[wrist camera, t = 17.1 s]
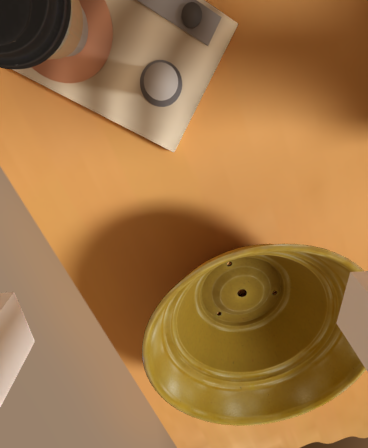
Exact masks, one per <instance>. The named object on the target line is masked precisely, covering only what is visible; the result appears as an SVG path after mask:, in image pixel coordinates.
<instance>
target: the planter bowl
mask: <svg viewBox="0 0 368 448" xmlns="http://www.w3.org/2000/svg"><path fill="white" fill-rule="evenodd" d="M228 262H231V263H232V265H231V266H227V263H228ZM361 271H364V270H363V269H362V268H361V267H359V266H358V265H357V264H355V263H354V262H352V261H351V260H349V259H348V258H346V257H344V256H342V255H339V254H337V253H335V252H332V251H329V250H326V249H323V248H318V247H314V246H308V245H299V244H262V245H253V246H246V247H242V248H237V249H234V250H231V251H228V252H225V253H223V254H220V255H218V256H216V257H214V258H212V259H210V260H208V261H206V262H205V263H203V264H201V265H200V266H198V267H197V268H196V269H194V270H193V271H192V272H191V273H189V274H188V275H187V276H186V277H185V278H184V279H182V280H181V281H180V282H179V283H177V284H176V285H175V286H174V287H173V288H172V289H171V290H170V291H169V292H168V293H167V294H166V296H165V297H164V298H163V299H162V300H161V302H160V303H159V304H158V306H157V307H156V309H155V310H154V312H153V314H152V315H151V318H150V320H149V322H148V324H147V327H146V330H145V333H144V338H143V344H142V359H143V364H144V369H145V372H146V375H147V377H148V379H149V381H150V383H151V384H152V386H153V387H154V389H155V390H156V391H157V393H158V394H159V395H160V396H161V397H162V398H163V399H164V400H165V401H166V402H167V403H169V404H170V405H171V406H173V407H174V408H176V409H178V410H179V411H181V412H183V413H185V414H187V415H190V416H192V417H194V418H198V419H201V420H204V421H207V422H212V423H217V424H224V425H237V426H245V425H260V424H268V423H273V422H278V421H282V420H286V419H290V418H293V417H296V416H299V415H302V414H304V413H307V412H309V411H311V410H314V409H316V408H318V407H320V406H322V405H324V404H325V403H327V402H329V401H331V400H332V399H334V398H335V397H337V396H338V395H340V394H341V393H342V392H344V391H345V390H346V389H347V388H349V387H350V386H351V385H352V384H353V383H354V382H355V381H356V380H357V379H358V378H359V377H360V376H361V375H362V374H363V373H364V371H365V370H366V368H365V367H364V365H363V364H362V362H361V361H360V359H359V357H358V356H357V354H356V353H355V351H354V350H353V348H352V347H351V345H350V344H349V342H348V340H347V339H346V337H345V336H344V334H343V333H342V331H341V330H340V328H339V327H338V325H337V319H338V315H339V312H340V308H341V304H342V300H343V297H344V293H345V289H346V286H347V282H348V278H349V275H350V272H361ZM241 289H244V290H246V292H247V294H246V295H245V296H244V297H240V296H238V294H237V293H238V291H239V290H241ZM273 291H277V294H275V295H273V294H272V293H273ZM217 312H221V315H217V314H216V313H217Z"/></svg>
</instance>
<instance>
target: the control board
mask: <svg viewBox="0 0 368 448" xmlns="http://www.w3.org/2000/svg"><path fill="white" fill-rule="evenodd" d="M79 2H80V4H81V7H82V8H83V10H84V12H85V15H86V18H87V23H88V38H87V42H86V44H85V46H84V48H83V49H82V51H81V52H80V53H78V54H76V55H74V56H69V57H63V58H60V59H50V60H46V61H44V62H42V63H41V64H39V65H36V66H34V67H31V68H26V69H12V70H14V71H16V72H18V73H20V74H22V75H24V76H26V77H28V78H30V79H31V80H33V81H35V82H37V83H39V84H41V85H43V86H45V87H47V88H49V89H51V90H53V91H55V92H57V93H59V94H61V95H63V96H65V97H67V98H69V99H70V100H72V101H74V102H76V103H78V104H80V105H82V106H84V107H86V108H88V109H90V110H92V111H94V112H96V113H98V114H100V115H102V116H104V117H106V118H107V119H109V120H111V121H113V122H115V123H117V124H119V125H121V126H123V127H125V128H127V129H129V130H131V131H133V132H135V133H137V134H139V135H141V136H143V137H145V138H146V139H148V140H150V141H152V142H154V143H156V144H158V145H160V146H162V147H164V148H166V149H168V150H170V151H172V152H175V150H176V148H177V146H178V144H179V142H180V140H181V138H182V136H183V134H184V132H185V130H186V128H187V126H188V124H189V122H190V120H191V118H192V116H193V114H194V112H195V110H196V108H197V106H198V104H199V102H200V100H201V98H202V96H203V94H204V92H205V90H206V88H207V86H208V84H209V82H210V80H211V78H212V76H213V74H214V72H215V70H216V68H217V66H218V64H219V62H220V60H221V58H222V56H223V54H224V52H225V50H226V48H227V46H228V44H229V42H230V40H231V38H232V36H233V34H234V32H235V30H236V28H237V26H238V23H237V22H235V21H234V20H232V19H231V18H230V17H228V16H227V15H225V14H224V13H222V12H221V11H219V10H218V9H216V8H215V7H214V6H212V5H211V4H209V3H208V2H206V1H205V0H79Z"/></svg>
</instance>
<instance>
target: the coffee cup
mask: <svg viewBox="0 0 368 448" xmlns="http://www.w3.org/2000/svg"><path fill="white" fill-rule="evenodd" d="M87 38H88V23H87V18H86V15H85V12H84V10H83V8H82V7H81V4H80V2H79V0H0V68H5V69H26V68H31V67H34V66H36V65H39V64H41V63H42V62H44V61H46V60H50V59H60V58H63V57H69V56H74V55H76V54H78V53H80V52H81V51H82V49H83V48H84V46H85V44H86V42H87Z"/></svg>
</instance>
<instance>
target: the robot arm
mask: <svg viewBox="0 0 368 448" xmlns="http://www.w3.org/2000/svg"><path fill="white" fill-rule="evenodd" d="M337 325H338V327H339V328H340V330H341V331H342V333H343V334H344V336H345V337H346V339H347V340H348V342H349V344H350V345H351V347H352V348H353V350H354V351H355V353H356V354H357V356H358V357H359V359H360V361H361V362H362V364H363V365H364V367H365V368H366V370H367V371H368V271H361V272H350V275H349V278H348V282H347V286H346V289H345V293H344V297H343V300H342V304H341V308H340V312H339V315H338V319H337ZM34 342H35V340H34V337H33V335H32V333H31V330H30V328H29V326H28V323H27V321H26V319H25V316H24V314H23V312H22V309H21V307H20V305H19V302H18V300H17V298H16V295H15V293H14V292H6V293H0V407H1V405H2V403H3V401H4V399H5V397H6V395H7V393H8V392H9V390H10V388H11V386H12V384H13V382H14V380H15V378H16V376H17V374H18V372H19V371H20V369H21V366H22V365H23V363H24V361H25V359H26V357H27V355H28V353H29V352H30V350H31V348H32V346H33V344H34Z"/></svg>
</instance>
